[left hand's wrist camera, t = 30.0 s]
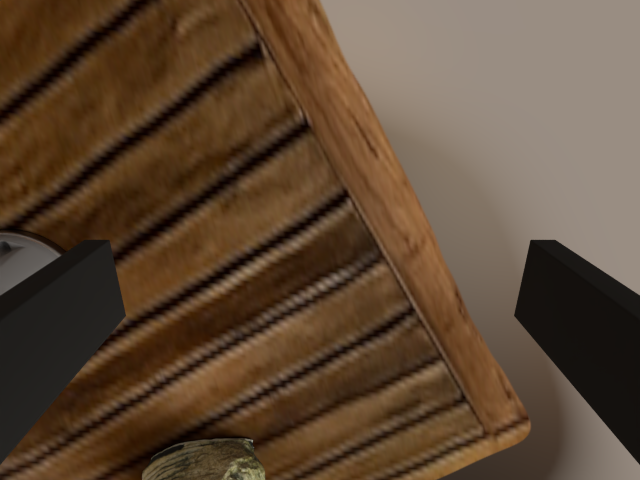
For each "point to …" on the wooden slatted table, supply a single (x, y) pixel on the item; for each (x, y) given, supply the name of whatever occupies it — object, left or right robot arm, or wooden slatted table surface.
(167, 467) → the fossil
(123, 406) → the wooden slatted table surface
